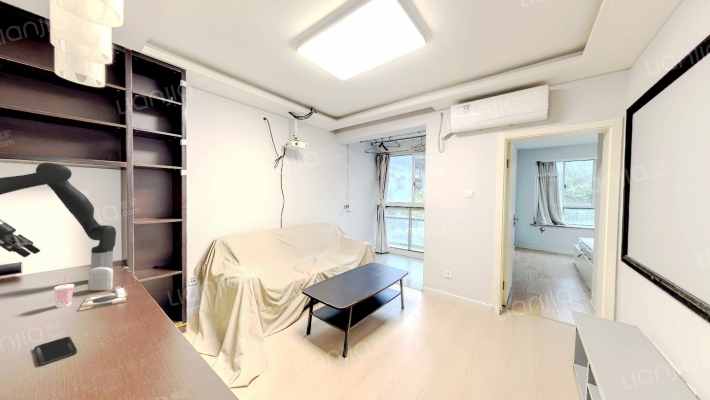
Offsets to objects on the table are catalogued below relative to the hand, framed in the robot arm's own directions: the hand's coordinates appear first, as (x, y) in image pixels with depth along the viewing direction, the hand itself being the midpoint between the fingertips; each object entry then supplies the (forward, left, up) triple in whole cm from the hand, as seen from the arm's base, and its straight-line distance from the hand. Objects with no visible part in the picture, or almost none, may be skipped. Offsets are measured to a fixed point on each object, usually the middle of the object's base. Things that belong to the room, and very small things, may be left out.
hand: (33, 254), depth 107 cm
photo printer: (-16, +20, -25) cm, 36 cm away
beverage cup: (+1, +10, -25) cm, 27 cm away
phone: (+49, +17, -26) cm, 58 cm away
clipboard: (+4, +24, -25) cm, 35 cm away
